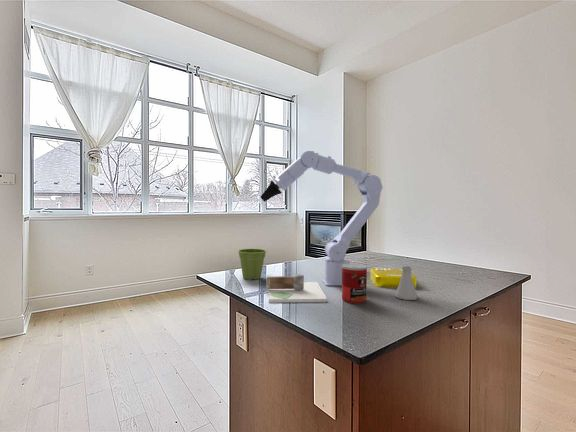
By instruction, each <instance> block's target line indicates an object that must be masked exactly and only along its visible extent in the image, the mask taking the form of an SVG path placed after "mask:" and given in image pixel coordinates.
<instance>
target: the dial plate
mask: <svg viewBox="0 0 576 432" xmlns="http://www.w3.org/2000/svg"><path fill="white" fill-rule="evenodd" d="M268 303H270V304H271V303H277V304H278V303H328V298H327V296H326V295H325V293H324V290H322V288H321V286H320V284H319V283H318V281H304V289H302V290H295V289H268Z"/></svg>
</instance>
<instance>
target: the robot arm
mask: <svg viewBox="0 0 576 432" xmlns="http://www.w3.org/2000/svg"><path fill="white" fill-rule="evenodd" d="M335 160H336V159H334V158H332V156H330V155H328V156H327V157H326V156H324V155H321V154H319V152H315V151H313V150H307V151H304V152H303V153H302V154H301V155H300V157H299V158H297V159H296V160H295V161H293V162H292V163H291V164H290V165H288V166H287V167H286V168H285V169H284V170H282V172H280V174H278V175H277V176H276V175H275V174H273V175H272V178H273V179H274V181H275V182H274V181H273V180H270V183H269V185H268V186H267V188H266V189H265V190H264V192H263V193H262V194H261V196H260V199H261V200H262V201H263V202H267V201H268V200H270V199H271V198H273V197H275V196H277V195H281V194H282V191H281V190H283V191H284V192H285V191H287V189H288V188H289V187H290V186H291V185H292V184H294V182H296V181H297V180H298V179H299V178H301V177H302V176H303V175H304V174H305V172H306V171H307V170H308V169H311V168H312V169H313V170H314V171H318V172H321V173H323V174H327V175H330V174H332V173H336V174H337V175H338V174H339V175H341V176H345V177H347V178H350V179H352V180H353V182H354V184H355V185H357V188H358V191H359V192H360V195H361V196H362V200H363V202H362V204H361V205H360V207H359V208H357V210H356V212H355V213H354V214H353V216H352V217H351V218H350V219H349V221H348V222H347V224H346V225H345V226H344V228H343V229H342V230H341V231H340V232H339V234H337V235H336V236H335V237H334V238H333V239H332V240H331V241H328V242H327V243H326V244H325V246H324V251H325V254H326V257H325V258H324V259H325V260H324V261H325V264H324V266H325V267H324V268H325V269H324V271H325V273H324V278H323V279H322V281H323V283H324V284H325V286H331V287H332V286H335V287H336V286H342V265H343V264H347V263H351V262H350V260H348V259H347V260H345V257H346V254H347V251H348V250H349V248H350V244H351V242H352V241H353V239H354V238H355V237H356V235H357V234H358V233H359V231H360V230H361V229H362V227H363V226H364V225H365V224H366V222H367V221H368V220H369V219H370V217H371V216H372V215H373V213H374V212H375V211H376V209H377V208H378V206H379V204H380V198H381V193H382V190H383V184H382V181H381V178H380V177H379V176H377V175H375V174H371V173H370V172H368V171H365V170H361V169H357V168H354V167H351V166H347V165H343V164H338V163H337V162H336V161H335ZM280 189H281V190H280Z"/></svg>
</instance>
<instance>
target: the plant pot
mask: <svg viewBox="0 0 576 432" xmlns="http://www.w3.org/2000/svg"><path fill="white" fill-rule="evenodd" d="M267 252H268V251H267V250H266V249H262V248H242V249H241V248H240V249H238V250H237V253H238V255H239V256H238V257H239V260H240V265H241V267H240V268H241V273H242V278H243V279H244V280H249V281H252V280H260V279H261V277H262V272H263V268H264V267H263V265H264V260H265V256H266V253H267Z"/></svg>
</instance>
